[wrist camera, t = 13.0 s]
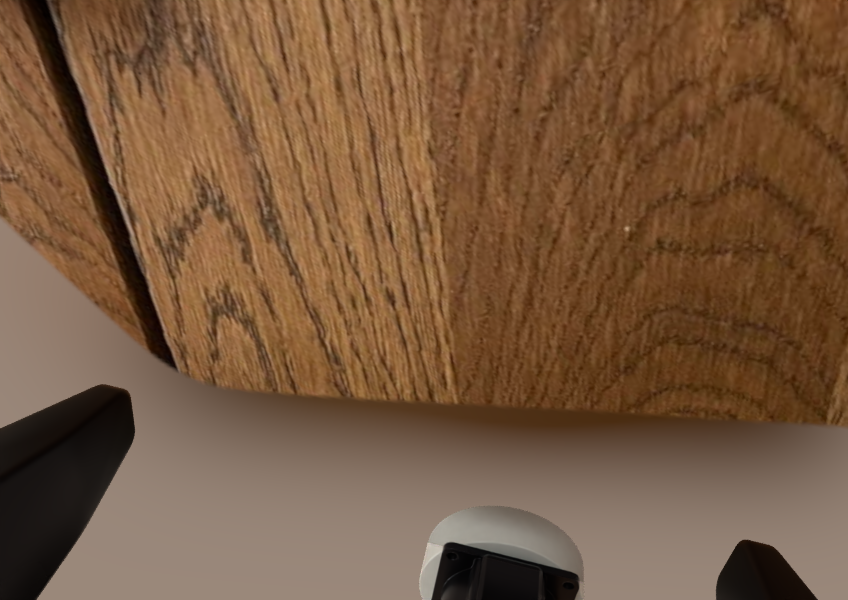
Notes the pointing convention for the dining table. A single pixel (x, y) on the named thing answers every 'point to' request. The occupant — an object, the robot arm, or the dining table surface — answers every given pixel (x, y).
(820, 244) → the dining table surface
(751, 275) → the dining table surface
